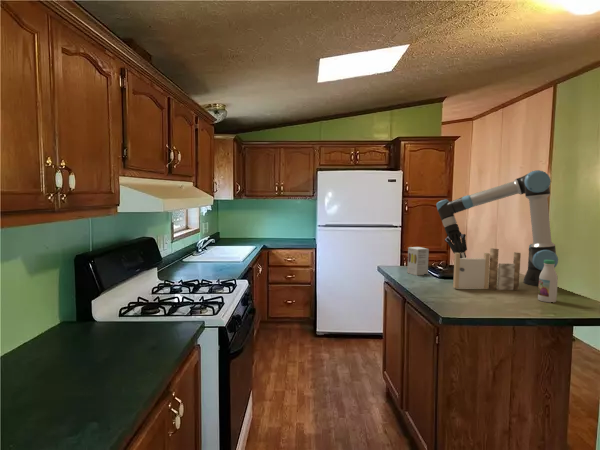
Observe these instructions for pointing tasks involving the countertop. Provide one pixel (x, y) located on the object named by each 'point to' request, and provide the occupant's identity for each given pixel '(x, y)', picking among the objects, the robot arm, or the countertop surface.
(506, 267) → the gate post and fence
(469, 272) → the gate
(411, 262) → the supplement box
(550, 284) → the milk bottle
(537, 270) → the robot arm
